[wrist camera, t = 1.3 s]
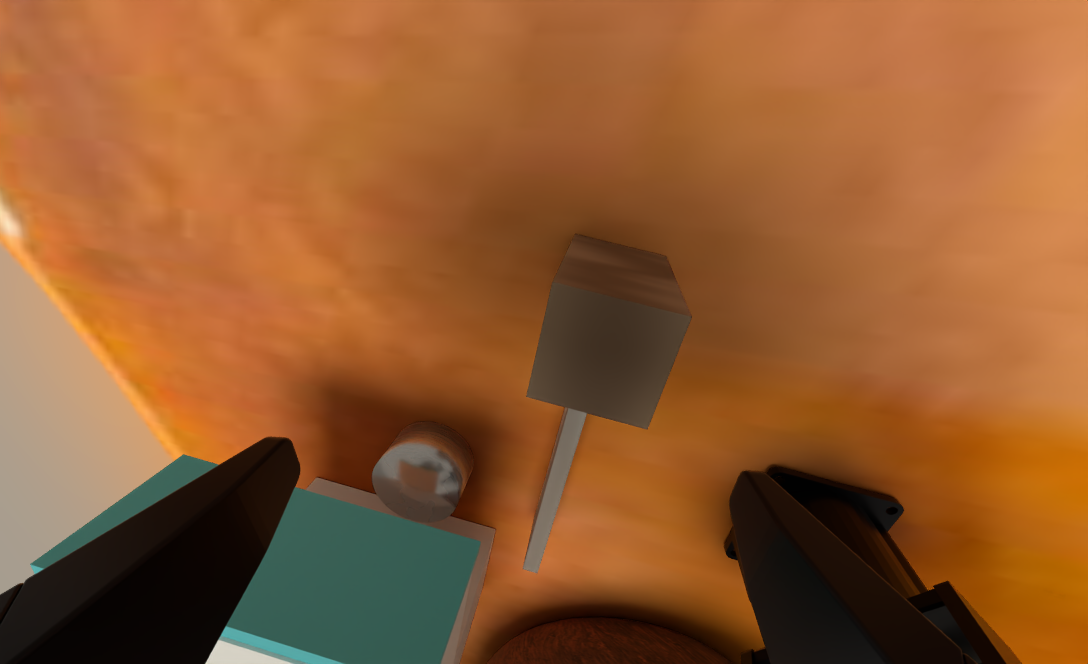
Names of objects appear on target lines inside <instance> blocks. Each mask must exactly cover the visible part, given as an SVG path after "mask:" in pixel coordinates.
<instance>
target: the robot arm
mask: <svg viewBox="0 0 1088 664" xmlns="http://www.w3.org/2000/svg"><path fill="white" fill-rule="evenodd" d="M299 475H300V463H299V461H298V458H297V455H296V452H295V449H294V446H293V443H292V441H291V440H290V439H289V438H285V437H266V438H264V439H262V440H260V441H259V442H257V443H255V444H253V445H252V446H250V447H248V448H247V449H245V450H243V451H242V452H240V453H238V454H237V455H235V456H233V457H232V458H230V459H228V460H227V461H225V462H223V463H221V464H220V465H218V466H216V467H215V468H213V469H211V470H210V471H208V472H206V473H205V474H203V475H201V476H200V477H198V478H196V479H195V480H193V481H191V482H189V483H188V484H186V485H184V486H183V487H181V488H179V489H178V490H176V491H174V492H173V493H171V494H169V495H168V496H166V497H164V498H163V499H161V500H159V501H157V502H156V503H154V504H152V505H151V506H149V507H147V508H146V509H144V510H142V511H141V512H139V513H137V514H136V515H134V516H132V517H131V518H129V519H127V520H125V521H124V522H122V523H120V524H119V525H117V526H115V527H114V528H112V529H110V530H109V531H107V532H105V533H104V534H102V535H100V536H98V537H97V538H95V539H93V540H92V541H90V542H88V543H87V544H85V545H83V546H82V547H80V548H78V549H77V550H75V551H73V552H72V553H70V554H68V555H66V556H65V557H63V558H61V559H60V560H58V561H56V562H55V563H53V564H51V565H50V566H48V567H46V568H45V569H43V570H41V571H39V572H38V573H36V574H34V575H33V576H31V577H29V578H28V579H27V580H26V581H25V582H24V583H20V584H17V585H16V586H14V587H12V588H11V589H9V590H7V591H6V592H4V593H2V594H1V595H0V664H205V663H206V662H207V660H208V658H209V656H210V654H211V652H212V651H213V649H214V647H215V645H216V643H217V642H218V640H219V638H220V636H221V634H222V633H223V631H224V629H225V627H226V625H227V623H228V622H229V620H230V618H231V616H232V614H233V613H234V611H235V609H236V607H237V605H238V604H239V602H240V600H241V598H242V596H243V594H244V593H245V591H246V589H247V587H248V585H249V584H250V582H251V580H252V578H253V576H254V574H255V573H256V571H257V569H258V567H259V565H260V564H261V562H262V560H263V558H264V556H265V554H266V552H267V550H268V548H269V546H270V543H271V541H272V539H273V537H274V534H275V532H276V530H277V527H278V525H279V523H280V521H281V518H282V516H283V514H284V511H285V509H286V507H287V504H288V502H289V500H290V497H291V495H292V493H293V490H294V488H295V486H296V483H297V481H298V479H299ZM778 476H781V477H780V478H776V477H778ZM729 507H730V513H731V518H732V522H733V527H732V529H731V531H730V536H729V538H728V539H727V541H726V543H725V545H724V548H725V552H726V555H727V556H728V557H729V558H731V559H734V560H738V562H739V566H740V569H741V573H742V576H743V580H744V583H745V587H746V590H747V594H748V597H749V600H750V602H751V604H752V607H753V610H754V613H755V616H756V619H757V622H758V625H759V629H760V632H761V635H762V638H763V641H764V644H765V647H764V648H762V649H759V650H756V651H754V650H753V649H751V650H748V651H745V652H742V653H741V664H1022V663H1021V662H1020V660H1019V659H1018V658H1017V657H1016V655H1015V654H1014V653H1013V652H1012V650H1011V649H1010V648H1009V647H1008V646H1007V645H1006V644H1005V642H1004V641H1003V640H1002V639H1001V638H1000V637H999V636H998V635H997V634H996V633H995V631H994V630H993V629H992V628H991V627H990V626H989V625H988V624H987V623H986V622H985V620H984V619H983V618H982V617H981V616H980V615H979V614H978V613H977V612H976V611H975V610H974V608H973V607H972V606H971V605H970V604H969V603H968V602H967V601H966V600H965V599H964V597H963V596H962V595H961V594H960V593H959V592H958V591H957V590H956V589H955V588H954V586H953V585H952V584H951V583H950V582H949V581H945V582H943V583H940V584H937V585H934V586H933V587H934V589H932V590H929V591H928V590H927V588H926V587H925V586H924V584H923V583H922V581H921V580H920V578H919V577H918V575H917V574H916V573H915V571H914V570H913V568H912V567H911V565H910V564H909V562H908V561H907V559H906V558H905V557H904V555H903V554H902V552H901V551H900V549H899V548H898V546H897V545H896V544H895V542H894V541H893V539H892V538H891V536H890V535H889V533H888V531H889V529H890V528H891V527H892V526H893V524H894V523H895V522H896V521H897V520H898V518H899V517H900V516H901V515H902V513H903V511H904V509H903V507H902V505H901V504H900V503H899V502H898V500H897V499H895V498H893V497H890V496H886V495H882V494H879V493H875V492H871V491H867V490H864V489H860V488H856V487H853V486H849V485H845V484H842V483H838V482H834V481H830V480H827V479H823V478H819V477H816V476H812V475H808V474H805V473H801V472H797V471H794V470H790V469H786V468H782V467H773V468H771V469H769V470H768V471H767V473H764V472H760V471H747V470H746V471H742V472H741V473H740V475H739V477H738V479H737V482H736V484H735V486H734V489H733V491H732V493H731V496H730V500H729ZM889 507H890V508H889Z"/></svg>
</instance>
